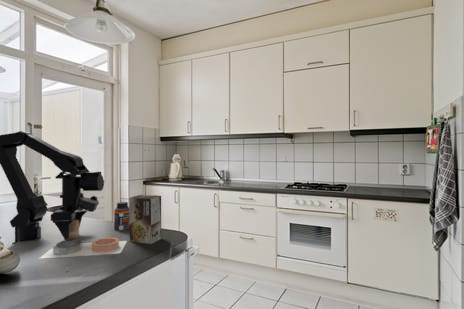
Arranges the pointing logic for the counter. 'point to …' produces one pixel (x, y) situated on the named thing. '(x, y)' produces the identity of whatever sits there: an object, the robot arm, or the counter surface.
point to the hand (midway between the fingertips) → (71, 235)
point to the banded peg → (74, 230)
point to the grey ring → (67, 247)
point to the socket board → (85, 251)
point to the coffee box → (145, 218)
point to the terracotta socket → (105, 244)
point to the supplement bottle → (121, 217)
